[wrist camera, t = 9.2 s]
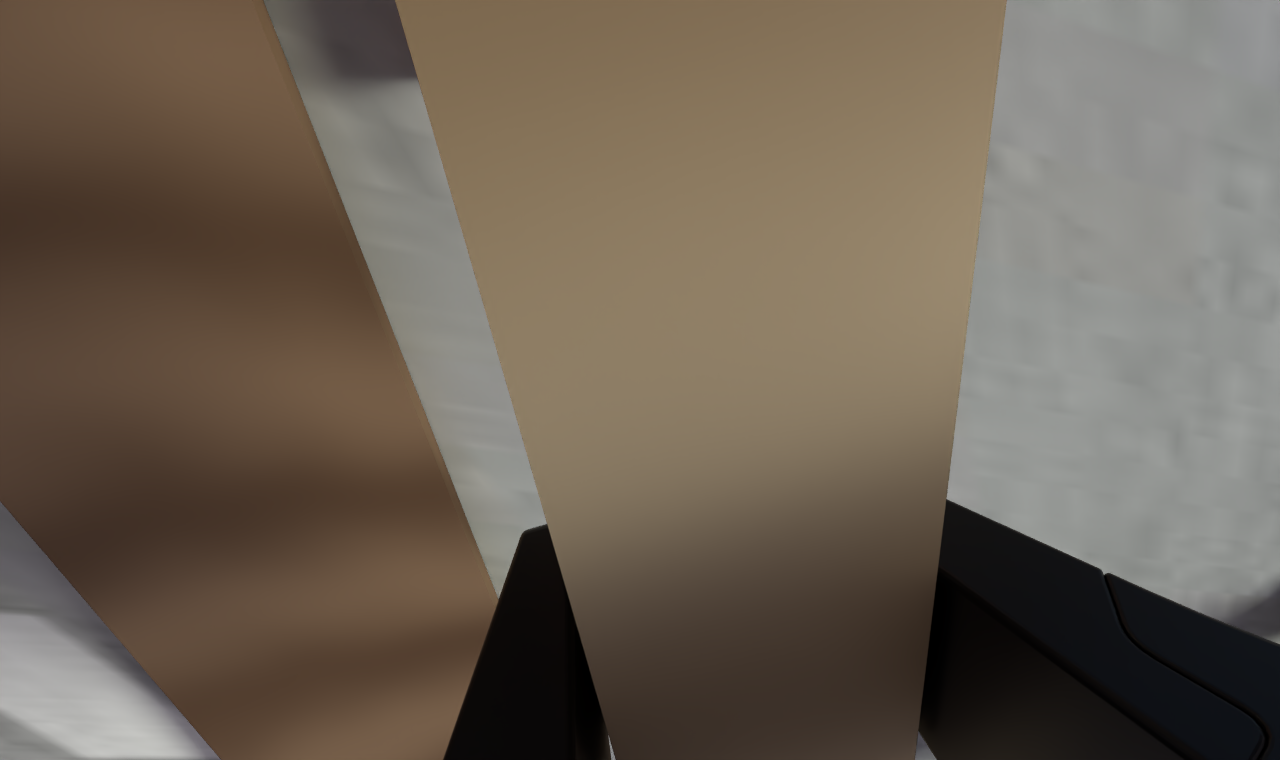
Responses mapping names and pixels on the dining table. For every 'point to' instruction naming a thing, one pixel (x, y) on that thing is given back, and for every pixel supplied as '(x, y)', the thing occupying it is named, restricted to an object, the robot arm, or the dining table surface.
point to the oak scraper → (729, 336)
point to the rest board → (219, 390)
